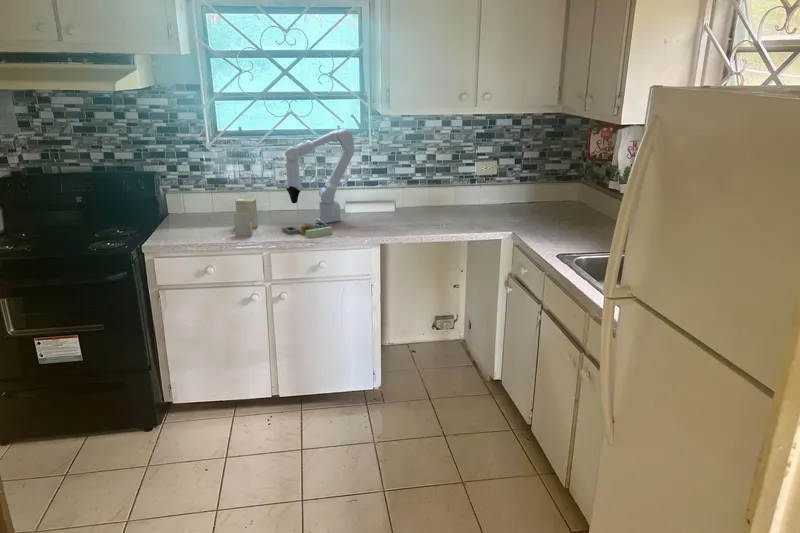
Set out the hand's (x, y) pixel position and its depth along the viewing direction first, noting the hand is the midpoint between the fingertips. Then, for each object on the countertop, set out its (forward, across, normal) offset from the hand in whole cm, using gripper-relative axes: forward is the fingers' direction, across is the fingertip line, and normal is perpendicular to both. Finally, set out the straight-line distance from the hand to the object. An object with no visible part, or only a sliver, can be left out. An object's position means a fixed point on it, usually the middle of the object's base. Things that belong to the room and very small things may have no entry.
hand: (294, 202), depth 281 cm
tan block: (+10, +20, -4) cm, 22 cm away
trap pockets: (+9, +19, -2) cm, 21 cm away
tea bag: (+10, +8, -29) cm, 32 cm away
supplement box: (+10, -4, -22) cm, 24 cm away
